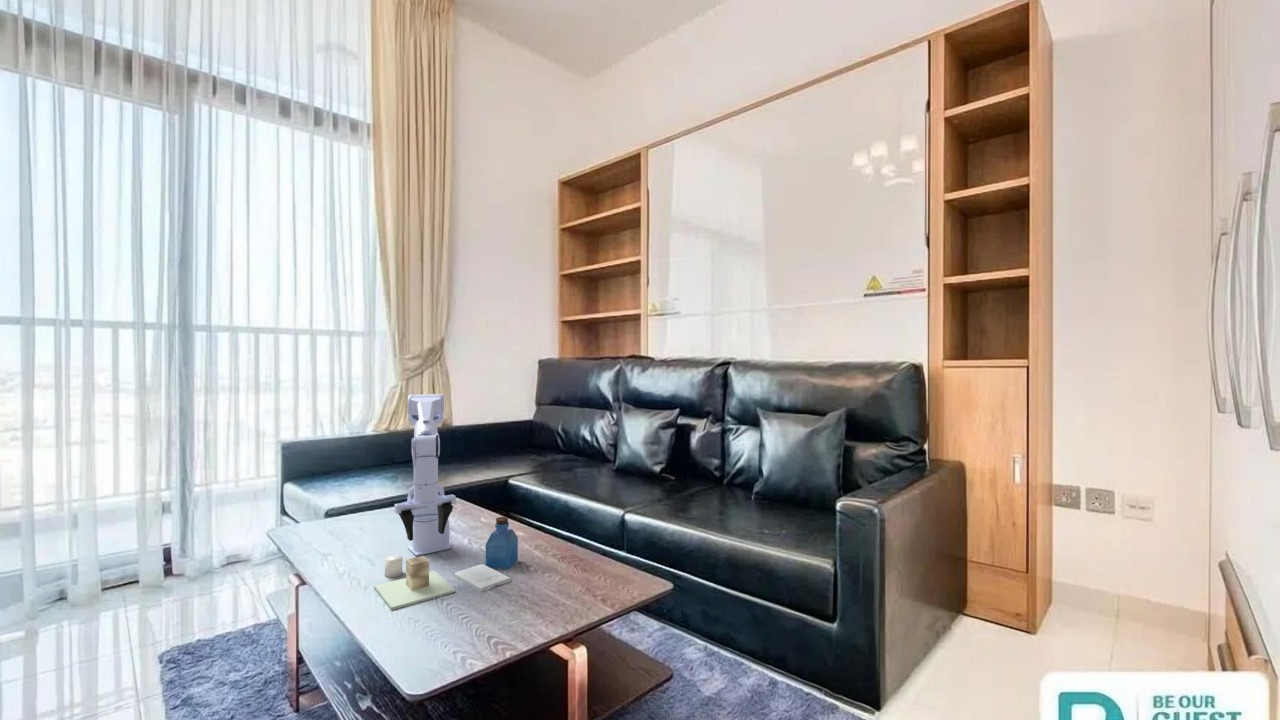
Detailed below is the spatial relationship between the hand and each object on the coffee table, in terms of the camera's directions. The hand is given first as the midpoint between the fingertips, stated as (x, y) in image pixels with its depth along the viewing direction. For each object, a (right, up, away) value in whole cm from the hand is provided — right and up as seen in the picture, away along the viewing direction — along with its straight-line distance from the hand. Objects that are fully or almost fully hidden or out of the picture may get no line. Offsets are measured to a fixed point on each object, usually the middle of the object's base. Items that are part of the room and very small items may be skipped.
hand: (425, 536), depth 138 cm
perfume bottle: (+18, -10, +6) cm, 21 cm away
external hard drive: (+15, -10, -3) cm, 19 cm away
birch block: (+1, -9, -9) cm, 13 cm away
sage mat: (+1, -10, -10) cm, 14 cm away
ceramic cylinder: (-8, -9, -1) cm, 12 cm away
